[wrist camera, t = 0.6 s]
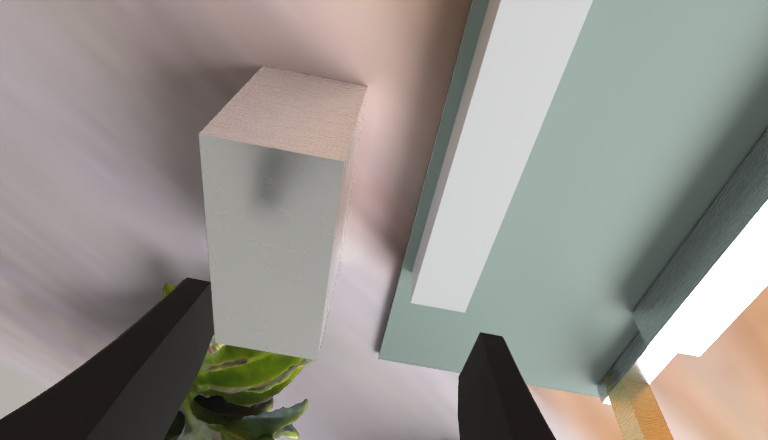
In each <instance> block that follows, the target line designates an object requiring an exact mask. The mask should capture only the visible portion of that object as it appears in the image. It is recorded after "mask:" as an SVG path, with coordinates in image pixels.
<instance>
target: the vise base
mask: <svg viewBox="0 0 768 440" xmlns="http://www.w3.org/2000/svg"><path fill="white" fill-rule="evenodd" d="M767 129H768V0H472V2H471V6H470V10H469V13H468V17H467V21H466V25H465V29H464V32H463V36H462V40H461V44H460V48H459V51H458V55H457V59H456V63H455V67H454V70H453V74H452V78H451V82H450V86H449V89H448V93H447V97H446V101H445V104H444V108H443V112H442V116H441V120H440V123H439V127H438V131H437V135H436V139H435V142H434V146H433V150H432V154H431V158H430V161H429V165H428V169H427V173H426V177H425V180H424V184H423V188H422V192H421V196H420V199H419V203H418V207H417V211H416V215H415V218H414V222H413V226H412V230H411V234H410V237H409V241H408V245H407V249H406V252H405V256H404V260H403V264H402V268H401V271H400V275H399V279H398V283H397V287H396V290H395V294H394V298H393V302H392V306H391V309H390V313H389V317H388V321H387V325H386V328H385V332H384V336H383V340H382V344H381V347H380V351H379V358H378V359H383V360H388V361H394V362H400V363H406V364H411V365H417V366H423V367H428V368H434V369H440V370H446V371H451V372H457V373H461V371H462V369H463V367H464V365H465V363H466V361H467V359H468V356H469V354H470V352H471V350H472V348H473V346H474V344H475V342H476V340H477V338H478V335H479V333H480V332H482V333H488V334H493V335H498V336H502V337H503V338H504V340H505V342H506V344H507V346H508V348H509V350H510V352H511V354H512V356H513V359H514V361H515V363H516V365H517V367H518V369H519V371H520V373H521V375H522V377H523V379H524V381H525V383H526V385H532V386H537V387H543V388H549V389H554V390H560V391H566V392H572V393H577V394H583V395H589V396H595V397H600V396H599V393H598V390H597V386H598V385H599V383H600V382H601V381H602V380H603V378H604V377H605V376H606V375H607V373H608V372H609V371H610V369H611V368H612V367H613V366H614V364H615V363H616V362H617V360H618V359H619V358H620V357H621V355H622V354H623V353H624V351H625V350H626V349H627V348H628V346H629V345H630V344H631V342H632V341H633V340H634V339H635V337H636V336H637V335H638V333H639V332H640V331H639V329H638V327H637V325H636V323H635V321H634V318H633V316H632V312H633V311H634V310H635V308H636V307H637V306H638V304H639V303H640V302H641V300H642V299H643V297H644V296H645V295H646V293H647V292H648V291H649V289H650V288H651V287H652V285H653V284H654V283H655V281H656V280H657V278H658V277H659V276H660V274H661V273H662V272H663V270H664V269H665V268H666V266H667V265H668V263H669V262H670V261H671V259H672V258H673V257H674V255H675V254H676V253H677V251H678V250H679V249H680V247H681V246H682V244H683V243H684V242H685V240H686V239H687V238H688V236H689V235H690V234H691V232H692V231H693V230H694V228H695V227H696V225H697V224H698V223H699V221H700V220H701V219H702V217H703V216H704V215H705V213H706V212H707V211H708V209H709V208H710V206H711V205H712V204H713V202H714V201H715V200H716V198H717V197H718V196H719V194H720V193H721V191H722V190H723V189H724V187H725V186H726V185H727V183H728V182H729V181H730V179H731V178H732V177H733V175H734V174H735V172H736V171H737V170H738V168H739V167H740V166H741V164H742V163H743V162H744V160H745V159H746V158H747V156H748V155H749V153H750V152H751V151H752V149H753V148H754V147H755V145H756V144H757V143H758V141H759V140H760V138H761V137H762V136H763V134H764V133H765V132H766V130H767Z"/></svg>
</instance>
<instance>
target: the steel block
mask: <svg viewBox="0 0 768 440" xmlns="http://www.w3.org/2000/svg"><path fill="white" fill-rule="evenodd" d="M367 87H368V86H364V85H358V84H353V83H348V82H343V81H338V80H333V79H328V78H323V77H318V76H313V75H308V74H303V73H297V72H292V71H287V70H282V69H277V68H272V67H267V66H262V67H261V68H260V69H259V70H258V71H257V72H256V73H255V75H254V76H253V77H252V78H251V79H250V80H249V81H248V82H247V83H246V84H245V85H244V86H243V87H242V88H241V89H240V90H239V92H238V93H237V94H236V95H235V96H234V97H233V98H232V99H231V100H230V101H229V102H228V103H227V104H226V105H225V106H224V107H223V108H222V110H221V111H220V112H219V113H218V114H217V115H216V116H215V117H214V118H213V119H212V120H211V121H210V122H209V123H208V124H207V125H206V127H205V128H204V129H203V130H202V131H201V132H200V133H199V145H200V158H201V170H202V182H203V195H204V207H205V220H206V232H207V244H208V257H209V269H210V282H211V291H212V306H213V319H214V331H215V343H220V344H225V345H231V346H237V347H242V348H248V349H254V350H260V351H265V352H271V353H277V354H283V355H288V356H294V357H300V358H305V359H311V360H317V359H318V355H319V351H320V347H321V343H322V338H323V334H324V330H325V326H326V322H327V317H328V313H329V309H330V305H331V301H332V296H333V292H334V288H335V284H336V280H337V275H338V271H339V267H340V263H341V257H342V251H343V244H344V238H345V231H346V224H347V218H348V211H349V205H350V198H351V192H352V185H353V179H354V172H355V166H356V159H357V153H358V146H359V140H360V133H361V127H362V120H363V113H364V107H365V100H366V94H367Z"/></svg>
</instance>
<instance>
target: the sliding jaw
mask: <svg viewBox="0 0 768 440" xmlns="http://www.w3.org/2000/svg"><path fill="white" fill-rule="evenodd" d="M767 285H768V129H767V130H766V132H765V133H764V134H763V136H762V137H761V138H760V140H759V141H758V143H757V144H756V145H755V147H754V148H753V149H752V151H751V152H750V153H749V155H748V156H747V158H746V159H745V160H744V162H743V163H742V164H741V166H740V167H739V168H738V170H737V171H736V172H735V174H734V175H733V177H732V178H731V179H730V181H729V182H728V183H727V185H726V186H725V187H724V189H723V190H722V191H721V193H720V194H719V196H718V197H717V198H716V200H715V201H714V202H713V204H712V205H711V206H710V208H709V209H708V211H707V212H706V213H705V215H704V216H703V217H702V219H701V220H700V221H699V223H698V224H697V225H696V227H695V228H694V230H693V231H692V232H691V234H690V235H689V236H688V238H687V239H686V240H685V242H684V243H683V244H682V246H681V247H680V249H679V250H678V251H677V253H676V254H675V255H674V257H673V258H672V259H671V261H670V262H669V263H668V265H667V266H666V268H665V269H664V270H663V272H662V273H661V274H660V276H659V277H658V278H657V280H656V281H655V283H654V284H653V285H652V287H651V288H650V289H649V291H648V292H647V293H646V295H645V296H644V297H643V299H642V300H641V302H640V303H639V304H638V306H637V307H636V308H635V310H634V311H633V312H632V316H633V318H634V321H635V323H636V325H637V327H638V329H639V331H640V332H639V333H638V335H637V336H636V337H635V339H634V340H633V341H632V342H631V344H630V345H629V346H628V348H627V349H626V350H625V351H624V353H623V354H622V355H621V357H620V358H619V359H618V360H617V362H616V363H615V364H614V366H613V367H612V368H611V369H610V371H609V372H608V373H607V375H606V376H605V377H604V378H603V380H602V381H601V382H600V383H599V385H598V386H597V390H598V393H599V396H600V399H601V402H602V403H604V404H610V405H612V408H613V410H614V413H615V416H616V419H617V422H618V424H619V427H620V430H621V433H622V436H623V439H624V440H674V439H673V437H672V435H671V433H670V430H669V428H668V426H667V424H666V421H665V419H664V417H663V415H662V412H661V410H660V408H659V406H658V403H657V401H656V399H655V397H654V394H653V392H652V390H651V388H650V385H649V384H650V383H651V382H652V380H653V379H654V378H655V377H656V376H657V375H658V374H659V373H660V372H661V370H662V369H663V368H664V367H665V366H666V365H667V364H668V363H669V361H670V360H671V359H672V358H673V357H674V356H675V355H676V354H677V352H678V353H683V354H689V355H694V356H701V354H702V353H703V352H704V351H705V350H706V349H707V348H708V347H709V346H710V345H711V344H712V343H713V342H714V341H715V340H716V339H717V338H718V337H719V335H720V334H721V333H722V332H723V331H724V330H725V329H726V328H727V327H728V326H729V325H730V324H731V323H732V322H733V321H734V320H735V319H736V318H737V317H738V315H739V314H740V313H741V312H742V311H743V310H744V309H745V308H746V307H747V306H748V305H749V304H750V303H751V302H752V301H753V300H754V299H755V298H756V296H757V295H758V294H759V293H760V292H761V291H762V290H763V289H764V288H765V287H766V286H767Z"/></svg>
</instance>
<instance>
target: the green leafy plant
mask: <svg viewBox="0 0 768 440" xmlns="http://www.w3.org/2000/svg"><path fill="white" fill-rule="evenodd" d="M174 288H175V286H173V285H172V284H170V283H167V284H165V286H164V288H163V298H165V297H166V296H167V295H168V294H169V293H170V292H171V291H172V290H173V289H174ZM312 361H313V360H311V359H305V358H300V357H294V356H288V355H283V354H277V353H271V352H265V351H260V350H254V349H248V348H242V347H237V346H231V345H225V344H220V343H215V333H214V334H213V337H212V340H211V343H210V345H209V348H208V351H207V353H206V356H205V358H204V361H203V363H202V366H201V368H200V370H199V372H198V374H197V376H196V378H195V380H194V382H193V384H192V386H191V388H190V390H189V392H188V394H187V396H186V398H185V400H184V401H183V403H182V405H181V407H180V409H179V411H178V413H177V415H176V417H175V419H174V420H173V422H172V424H171V426H170V428H169V430H168V432H167V434H166V436H165V438H164V440H274V438H280V437H290V438H295V439H298V438H299V433H298V432H297V430H296V429H295V428H294V427H293V426H292V424H291V423H293V422H295V421H296V420H297V419H298V418H299V417H300V416H301V415H302V414H303V413H304V412H305V410H306V408H307V405H308V400H307V399H305V400H304V401H303V402H302V403H299V404H296V405H294V406H292V407H290V408H284V407H282V408H281V409H278V410H275V411H273V412H269V411H271V409H272V408H273V403H274V401H273V398H272V397H273V396H274V395H276V394H278V393H279V392H280V391H281V390H282V389H283V388H284V387H286V386H287V385H288V384H289V383H290V382H291V381H292V380H293V378H294V377H295V376H296V375H297V374H298V373H299V371H300V370H301V369H302V368H303V367H304V366H306V365H309V364H310V363H311V362H312Z"/></svg>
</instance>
